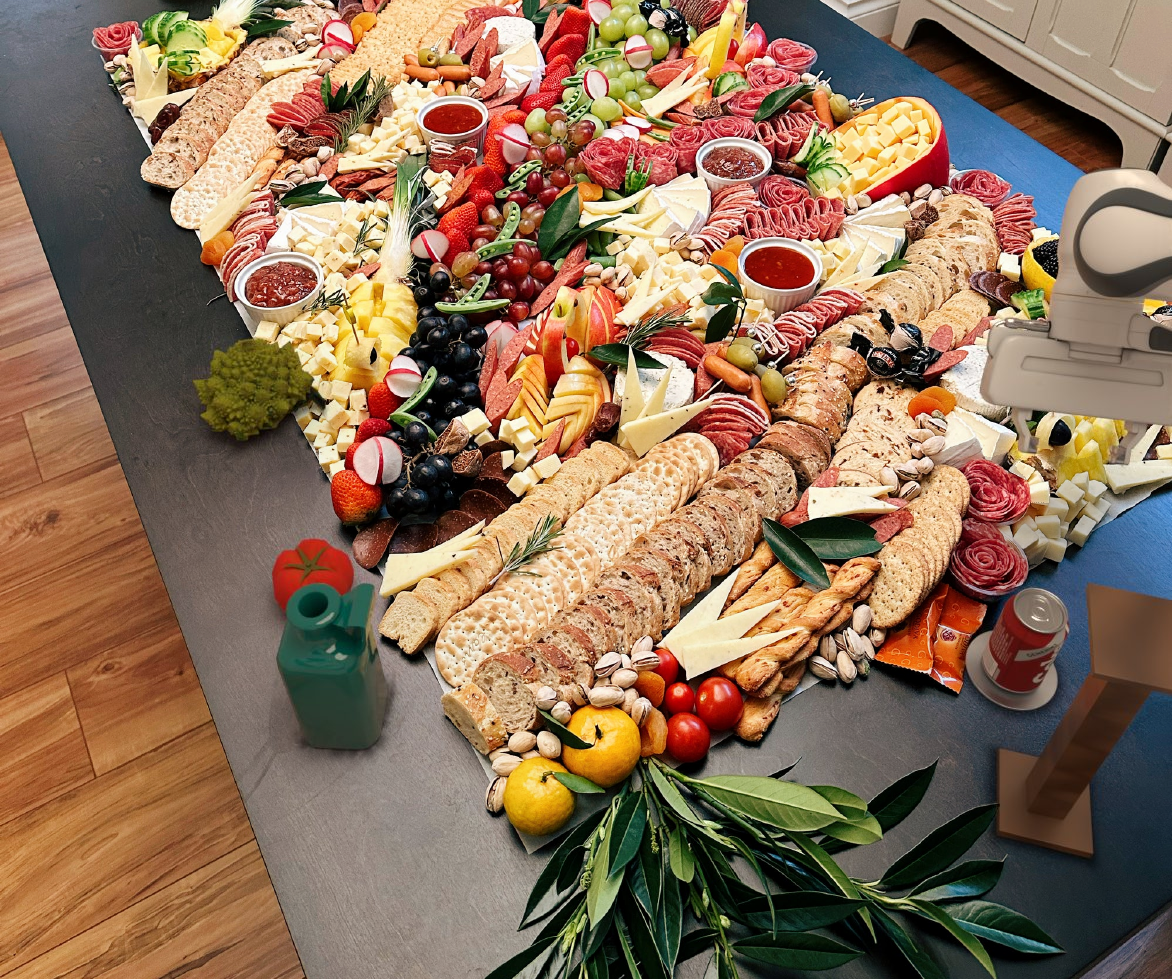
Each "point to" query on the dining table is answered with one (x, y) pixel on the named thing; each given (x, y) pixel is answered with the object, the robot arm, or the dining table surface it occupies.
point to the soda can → (1026, 640)
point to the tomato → (311, 569)
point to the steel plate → (1000, 694)
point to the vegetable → (255, 387)
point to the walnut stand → (1088, 722)
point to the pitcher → (333, 666)
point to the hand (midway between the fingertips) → (1072, 458)
